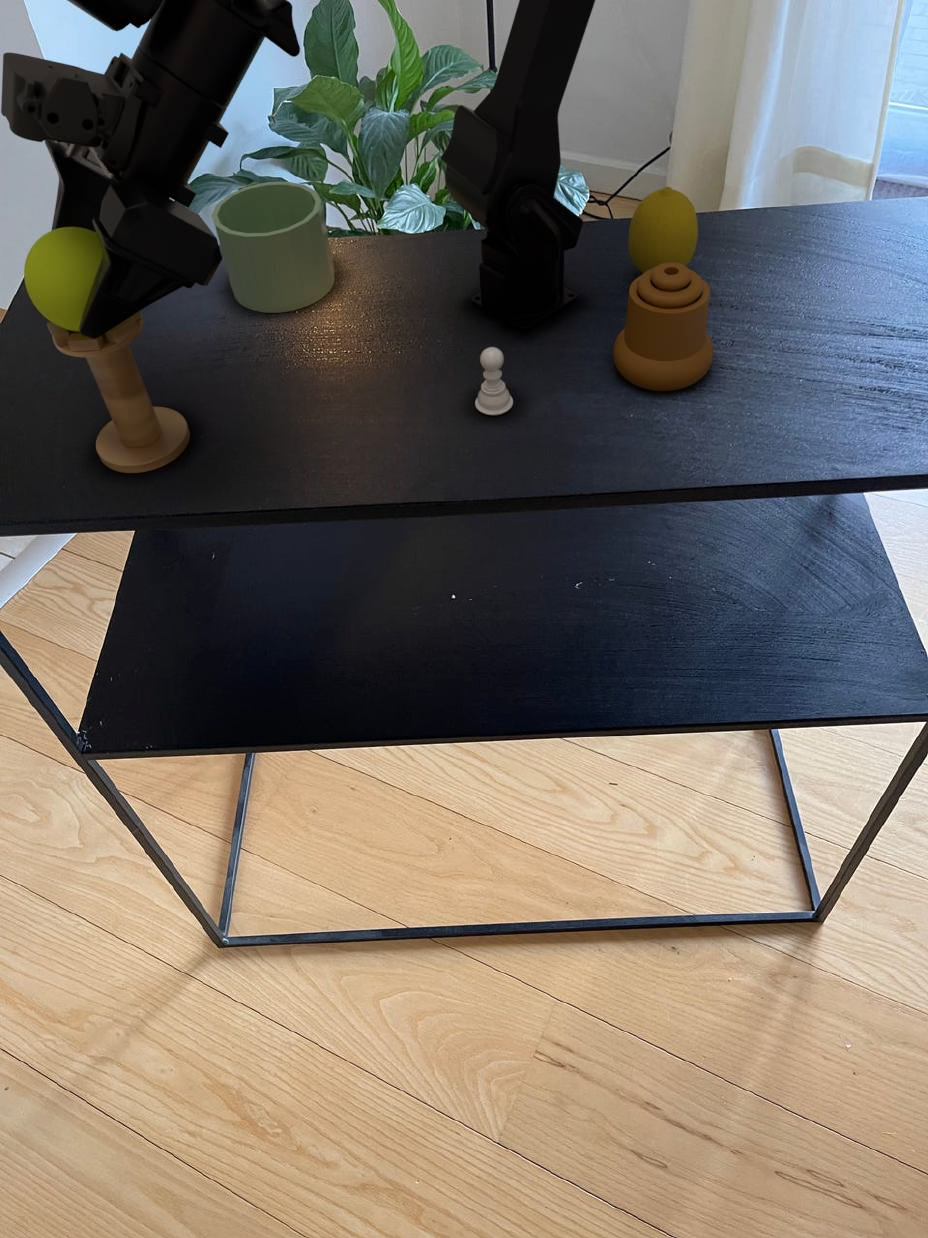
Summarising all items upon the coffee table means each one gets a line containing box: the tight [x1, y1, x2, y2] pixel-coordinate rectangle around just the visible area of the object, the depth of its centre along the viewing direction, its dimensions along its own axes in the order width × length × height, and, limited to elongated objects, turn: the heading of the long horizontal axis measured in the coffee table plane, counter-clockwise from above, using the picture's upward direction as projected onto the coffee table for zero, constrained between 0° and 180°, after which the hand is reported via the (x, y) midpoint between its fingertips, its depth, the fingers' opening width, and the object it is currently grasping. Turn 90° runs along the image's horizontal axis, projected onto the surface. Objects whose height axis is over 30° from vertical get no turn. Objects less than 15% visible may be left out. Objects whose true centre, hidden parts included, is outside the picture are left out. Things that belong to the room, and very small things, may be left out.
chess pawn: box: [474, 346, 514, 416], centre depth 71 cm, size 3×3×5 cm
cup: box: [211, 181, 335, 314], centre depth 84 cm, size 9×9×7 cm
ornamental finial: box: [612, 262, 715, 392], centre depth 72 cm, size 8×8×8 cm
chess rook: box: [46, 310, 191, 474], centre depth 69 cm, size 7×7×11 cm
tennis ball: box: [23, 227, 103, 332], centre depth 63 cm, size 6×6×6 cm
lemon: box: [627, 186, 699, 274], centre depth 80 cm, size 6×6×8 cm
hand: (69, 301), depth 64 cm, fingers open, 9 cm apart
